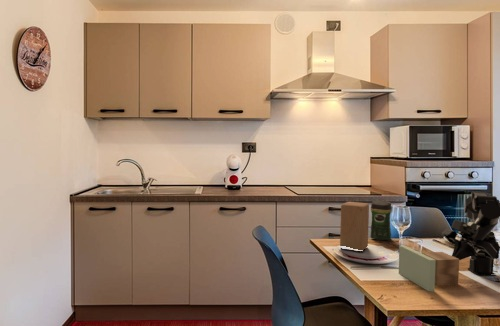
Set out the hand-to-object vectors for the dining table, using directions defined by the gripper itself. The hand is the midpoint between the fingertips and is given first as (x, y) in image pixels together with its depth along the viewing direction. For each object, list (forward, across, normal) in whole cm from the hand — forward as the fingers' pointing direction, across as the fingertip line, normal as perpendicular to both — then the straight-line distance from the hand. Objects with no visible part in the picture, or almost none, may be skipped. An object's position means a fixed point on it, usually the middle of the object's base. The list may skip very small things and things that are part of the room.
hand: (452, 261), depth 120 cm
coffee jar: (+1, -52, +9) cm, 53 cm away
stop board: (+14, -1, -5) cm, 15 cm away
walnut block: (+8, 0, +2) cm, 8 cm away
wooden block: (+16, -39, -6) cm, 43 cm away
